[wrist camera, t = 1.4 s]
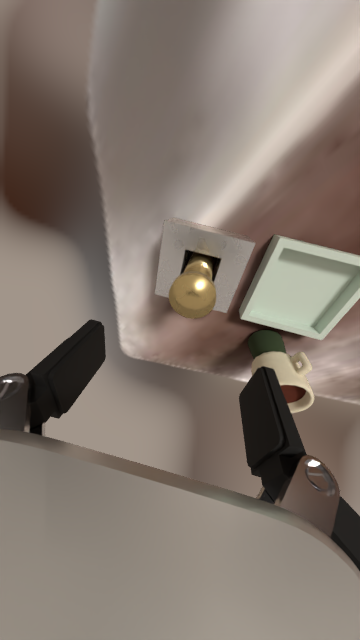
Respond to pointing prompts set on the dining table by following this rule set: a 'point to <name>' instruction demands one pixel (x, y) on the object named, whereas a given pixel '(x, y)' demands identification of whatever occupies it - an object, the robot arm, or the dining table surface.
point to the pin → (194, 288)
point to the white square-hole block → (207, 241)
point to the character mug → (283, 368)
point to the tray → (302, 287)
